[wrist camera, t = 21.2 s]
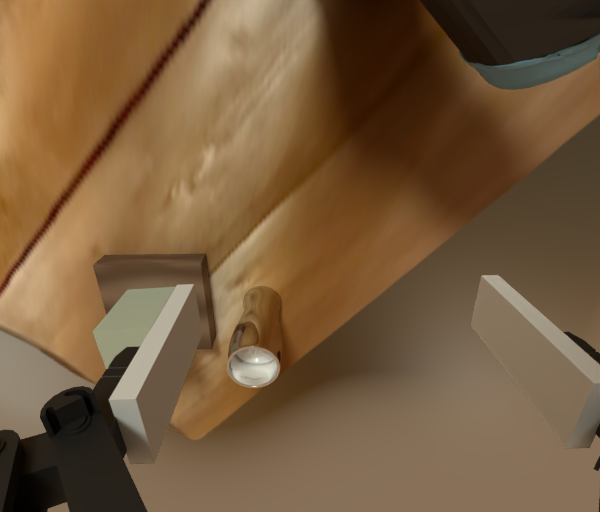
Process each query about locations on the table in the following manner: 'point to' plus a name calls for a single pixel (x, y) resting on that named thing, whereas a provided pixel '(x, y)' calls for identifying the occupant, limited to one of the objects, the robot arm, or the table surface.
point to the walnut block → (158, 281)
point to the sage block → (130, 320)
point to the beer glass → (256, 340)
